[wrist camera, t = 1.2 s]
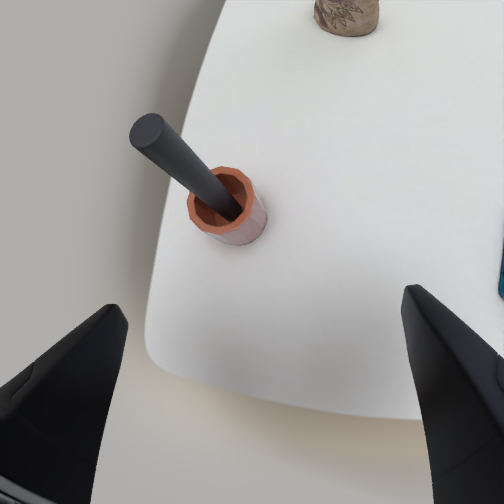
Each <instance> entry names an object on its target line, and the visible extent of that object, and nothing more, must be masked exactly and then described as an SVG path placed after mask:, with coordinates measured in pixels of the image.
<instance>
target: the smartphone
mask: <svg viewBox="0 0 504 504" xmlns="http://www.w3.org/2000/svg"><path fill="white" fill-rule="evenodd" d="M499 291H500V295H501V297H502V298H503V299H504V257H503V265H502V273H501V280H500V287H499Z"/></svg>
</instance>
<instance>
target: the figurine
mask: <svg viewBox="0 0 504 504" xmlns="http://www.w3.org/2000/svg"><path fill="white" fill-rule="evenodd" d="M314 18H315V19H316V21H317V23H318V24H319V25H320V27H322V28H323V29H324V30H326V31H328V32H331V33H334V34H337V35H342V36H358V35H364V34H368V33H370V32H371V31H373V30H374V29H375V27H376V26H377V23H378V19H379V0H316V2H315V6H314Z"/></svg>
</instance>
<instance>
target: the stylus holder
mask: <svg viewBox="0 0 504 504" xmlns="http://www.w3.org/2000/svg"><path fill="white" fill-rule="evenodd" d="M210 171H211V172H212V173H213V174H214V175H215V176H216V178H217V179H218V180H219V181H220V182H221V183H222V184H223V185H224V187H225V188H226V189H227V190H228V191H229V192H230V193H231V195H232V196H233V197H234V198H235V199H236V200H237V201H238V203H239V204H240V205H241V206H242V207H243V208H244V211H243V213H242V214H241V215H240V216H239V217H238V218H237V219H236V220H235V221H234V222H233V223H230V222H228V221H227V220H226V219H225V218H223V217H222V216H221V215H220V214H218V213H217V212H216V211H215V210H213V209H212V208H211V207H210V206H208V205H207V204H206V203H204V202H203V201H202V200H201V199H199V198H198V197H197V196H196V195H194V194H193V193H192V192H191V191H190V193H189V196H188V199H187V207H188V212H189V216H190V219H191V220H192V221H193V222H194V223H195V225H196V226H197V227H198V228H199V229H200V230H201V231H203V232H205V233H207V234H209V235H211V236H213V237H214V238H216V239H218V240H220V241H222V242H225V243H228V244H231V245H244V244H247V243H250V242H252V241H253V240H255V239H256V238H257V237H258V236H259V235H260V234H261V232H262V231H263V229H264V227H265V224H266V218H267V214H266V209H265V206H264V204H263V200H262V199H261V197H260V195H259V194H258V192H257V190H256V189H255V187H254V185H253V183H252V182H251V180H250V179H249V178H248V177H247V176H245V175H244V174H243V173H242V172H241V171H240V170H238V169H235V168H229V167H222V166H221V167H217V168H215V169H212V170H210Z"/></svg>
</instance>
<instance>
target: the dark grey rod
mask: <svg viewBox="0 0 504 504" xmlns="http://www.w3.org/2000/svg"><path fill="white" fill-rule="evenodd" d="M129 138H130V142H131V144H132V146H133V147H135V148H136V149H137V150H138V151H140V152H141V153H142V154H144V155H145V156H146V157H147V158H149V159H150V160H151V161H153V162H154V163H155V164H156V165H158V166H159V167H160V168H161V169H163V170H164V171H165V172H167V173H168V174H169V175H170V176H172V177H173V178H174V179H175V180H177V181H178V182H179V183H180V184H182V185H183V186H184V187H186V188H187V189H188V190H189V191H191V192H192V193H193V194H194V195H196V196H197V197H198V198H199V199H201V200H202V201H203V202H204V203H206V204H207V205H208V206H210V207H211V208H212V209H213V210H215V211H216V212H217V213H218V214H220V215H221V216H222V217H223V218H225V219H226V220H227V221H228V222H230V223H233V222H234V221H235V220H236V219H237V218H238V217H239V216H240V215H241V214H242V213H243V211H244V208H243V207H242V206H241V205H240V204H239V203H238V201H237V200H236V199H235V198H234V197H233V196H232V195H231V193H230V192H229V191H228V190H227V189H226V188H225V187H224V185H223V184H222V183H221V182H220V181H219V180H218V179H217V178H216V176H215V175H214V174H213V173H212V172H211V171H210V170H209V169H208V167H207V166H206V165H205V164H204V163H203V162H202V161H201V160H200V158H199V157H198V156H197V155H196V154H195V153H194V152H193V151H192V149H191V148H190V147H189V146H188V145H187V144H186V143H185V142H184V141H183V140H182V138H181V137H180V136H179V135H178V134H177V133H176V132H175V131H174V130H173V129H172V127H171V126H170V125H169V124H168V123H167V122H166V121H165V120H164V119H163V117H162V116H160V115H158V114H155V113H150V114H146V115H144V116H142V117H141V118H139V119H138V120H137V121H136V122H135V123H134V125H133V127H132V128H131V131H130V135H129Z"/></svg>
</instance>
